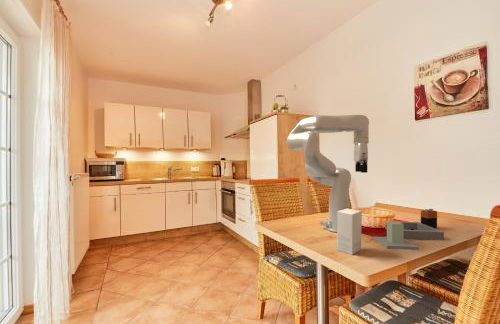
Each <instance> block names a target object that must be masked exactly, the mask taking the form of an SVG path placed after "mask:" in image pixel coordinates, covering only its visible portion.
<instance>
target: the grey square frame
mask: <svg viewBox="0 0 500 324" xmlns="http://www.w3.org/2000/svg"><path fill="white" fill-rule="evenodd" d="M399 222H400V223H402V224H404V232H403V238H404V239H405V240H408V239H409V240H411V239H413V240H433V241H434V240H436V241H437V240H438V241H440V240H441V241H444V240H445V237H444V236H445V234H444V231H442V230H440V229H437V228H432V227H430V226H427V225H425V224H422V223H421V221H420V222H419V221H399ZM411 229H415V230H411ZM384 230H386V231H387V223H386V225H385V229H384Z"/></svg>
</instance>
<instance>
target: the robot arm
mask: <svg viewBox="0 0 500 324" xmlns="http://www.w3.org/2000/svg"><path fill="white" fill-rule="evenodd" d="M369 125H370V120H369V118H368V116H367V115H363V114H348V115H347V114H346V115H345V114H343V115H339V114H338V115H325V114H324V115H323V114H322V115H321V114H320V115H319V114H317V115H312V116H308V117H303V118H302V119H301V120H300V121H299V122H298V123H297V124H296V126H295V127H294V128H293V129H292V131H291V132H290V133H289V134H288V136H287V139H286V146H287V148H288V149H289V150H291V151H303V155H304V158H303V159H304V163H305V165H304V172H305V174H306V175H307V176H308V177H309V178H311V179H312V180H314V181H315V182H317V183H318V184H320V185H324V186H330V187H331V189H330V191H329V193H328V219H327V218H326V219H327V220H319V221H318V223H319V225H320V226H324V227H325V230H327V231H329V232H333V233H337V214H338V212H337V211H340V210H344V209H347V208H348V209H350V208H349V207H350V206H349V204H350V202H349V200H350V198H349V197H350V195H349V194H350V185H351V182H352V174H351V172H350V171H349V170H348V169H346V168H344V167H343V168H342V167H336V164H335V163H334V162H333V161H332V160H330V158H328V157H326V156H325V155H324V154H322V153H321V151H320V140H319V137H318V135H317V134H326V133H327V134H333V133H334V134H335V133H342V132H346V133H349V132H353V145H354V146H353V147H354V148H353V161H354V162H355V170H354V171H355V172H356V173H368V166H369V165H368V164H369V163H368V159H369V150H368V148H369V147H368V145H369V142H370V141H369V138H370V136H369V132H370V131H369V129H370V128H369Z"/></svg>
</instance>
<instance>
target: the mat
mask: <svg viewBox="0 0 500 324" xmlns="http://www.w3.org/2000/svg"><path fill="white" fill-rule="evenodd" d="M373 239H374V240H375V241H376V242H378V243H379V244H381V245H382V246H383V247H385V248H386V249H398V250H399V249H400V250H420V249H419V248H420V247H419V246H418V245H416V244H414V243H412V242H411V241H409V240H408V239H405V238H403V243H391V242H390V241H388V240H387V236H373Z"/></svg>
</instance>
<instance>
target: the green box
mask: <svg viewBox="0 0 500 324" xmlns="http://www.w3.org/2000/svg"><path fill="white" fill-rule="evenodd" d="M386 221H387V230H386V237H387V240H388V241H390V242H391V243H403V232H404V230H405V229H404V224H402V223H400V222H401V221H397V220H396V221H394V220H386Z"/></svg>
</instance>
